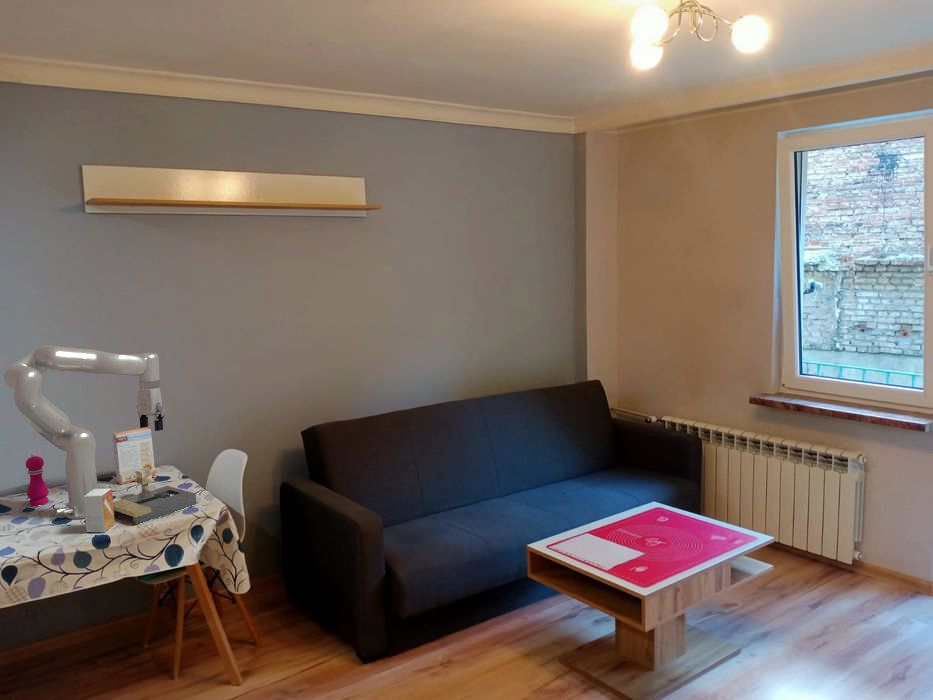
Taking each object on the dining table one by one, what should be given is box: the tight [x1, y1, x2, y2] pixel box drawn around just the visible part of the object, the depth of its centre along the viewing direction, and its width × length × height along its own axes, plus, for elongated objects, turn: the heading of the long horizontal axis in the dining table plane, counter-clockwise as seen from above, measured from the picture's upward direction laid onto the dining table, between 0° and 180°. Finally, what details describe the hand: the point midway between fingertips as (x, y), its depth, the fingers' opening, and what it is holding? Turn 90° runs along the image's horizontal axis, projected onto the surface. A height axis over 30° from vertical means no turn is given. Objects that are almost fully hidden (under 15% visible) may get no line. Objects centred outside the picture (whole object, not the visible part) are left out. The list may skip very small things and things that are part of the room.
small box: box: [84, 487, 116, 533], centre depth 252 cm, size 8×6×13 cm
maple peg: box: [136, 468, 153, 494], centre depth 283 cm, size 5×5×11 cm
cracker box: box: [111, 427, 156, 485], centre depth 306 cm, size 14×6×21 cm, turn 130°
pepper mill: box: [25, 452, 50, 507], centre depth 278 cm, size 7×7×20 cm
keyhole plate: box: [113, 485, 197, 526], centre depth 269 cm, size 24×18×4 cm
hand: (151, 428), depth 285 cm, fingers open, 9 cm apart
